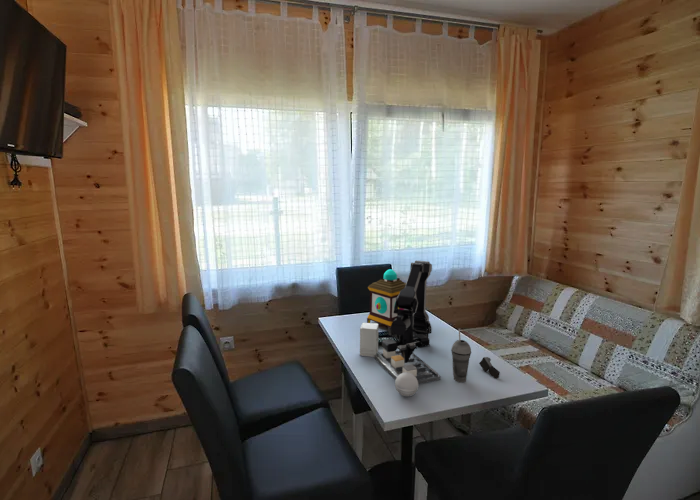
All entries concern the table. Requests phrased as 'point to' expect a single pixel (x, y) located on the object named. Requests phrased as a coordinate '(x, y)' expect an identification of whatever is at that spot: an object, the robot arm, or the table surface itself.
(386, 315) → the decorative lantern
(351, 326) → the table surface
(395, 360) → the block
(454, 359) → the beverage cup
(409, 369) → the breaker near
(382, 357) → the panel
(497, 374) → the black bow tie
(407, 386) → the bath bomb
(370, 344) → the supplement box
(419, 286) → the robot arm
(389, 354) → the breaker far
